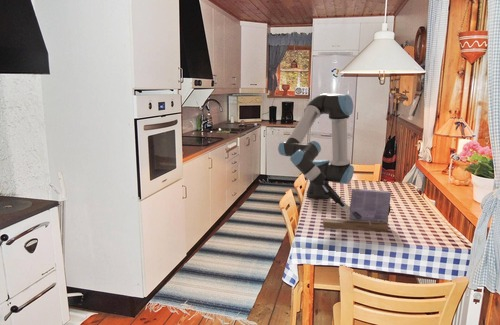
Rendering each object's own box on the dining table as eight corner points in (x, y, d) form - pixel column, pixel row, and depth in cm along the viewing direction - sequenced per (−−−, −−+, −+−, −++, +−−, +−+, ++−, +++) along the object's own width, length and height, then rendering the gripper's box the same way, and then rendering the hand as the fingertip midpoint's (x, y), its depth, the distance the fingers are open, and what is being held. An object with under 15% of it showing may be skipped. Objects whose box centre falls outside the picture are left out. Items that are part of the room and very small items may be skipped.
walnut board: (323, 224, 187) (323, 218, 186) (385, 228, 182) (386, 222, 181) (323, 227, 182) (323, 221, 181) (387, 231, 177) (388, 225, 176)
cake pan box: (388, 224, 187) (391, 190, 184) (390, 227, 182) (393, 192, 179) (348, 221, 190) (351, 188, 187) (349, 224, 186) (351, 190, 182)
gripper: (310, 178, 193) (341, 210, 194) (309, 184, 181) (343, 219, 181) (320, 168, 191) (352, 201, 192) (321, 173, 179) (354, 209, 179)
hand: (347, 210), depth 186 cm, fingers closed
